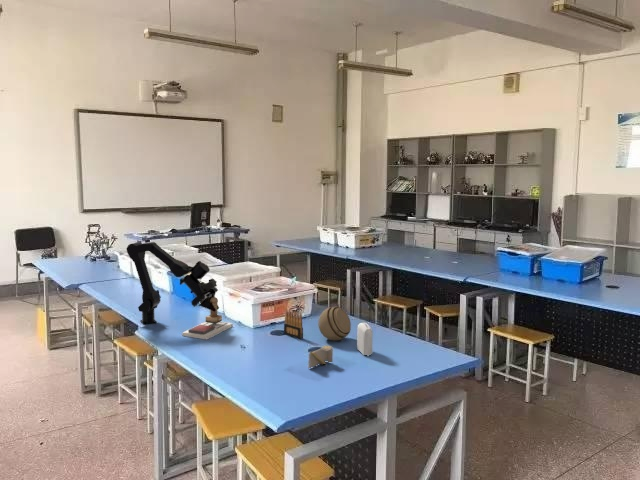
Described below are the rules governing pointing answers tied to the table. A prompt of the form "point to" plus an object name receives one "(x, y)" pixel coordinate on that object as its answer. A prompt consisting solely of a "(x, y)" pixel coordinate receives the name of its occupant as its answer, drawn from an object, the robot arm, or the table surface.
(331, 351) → the model
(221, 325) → the stamping board
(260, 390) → the table surface
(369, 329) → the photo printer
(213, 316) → the stamp
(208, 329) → the ink pad
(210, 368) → the table surface
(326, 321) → the brown grooved ball
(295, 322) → the ammunition clip
